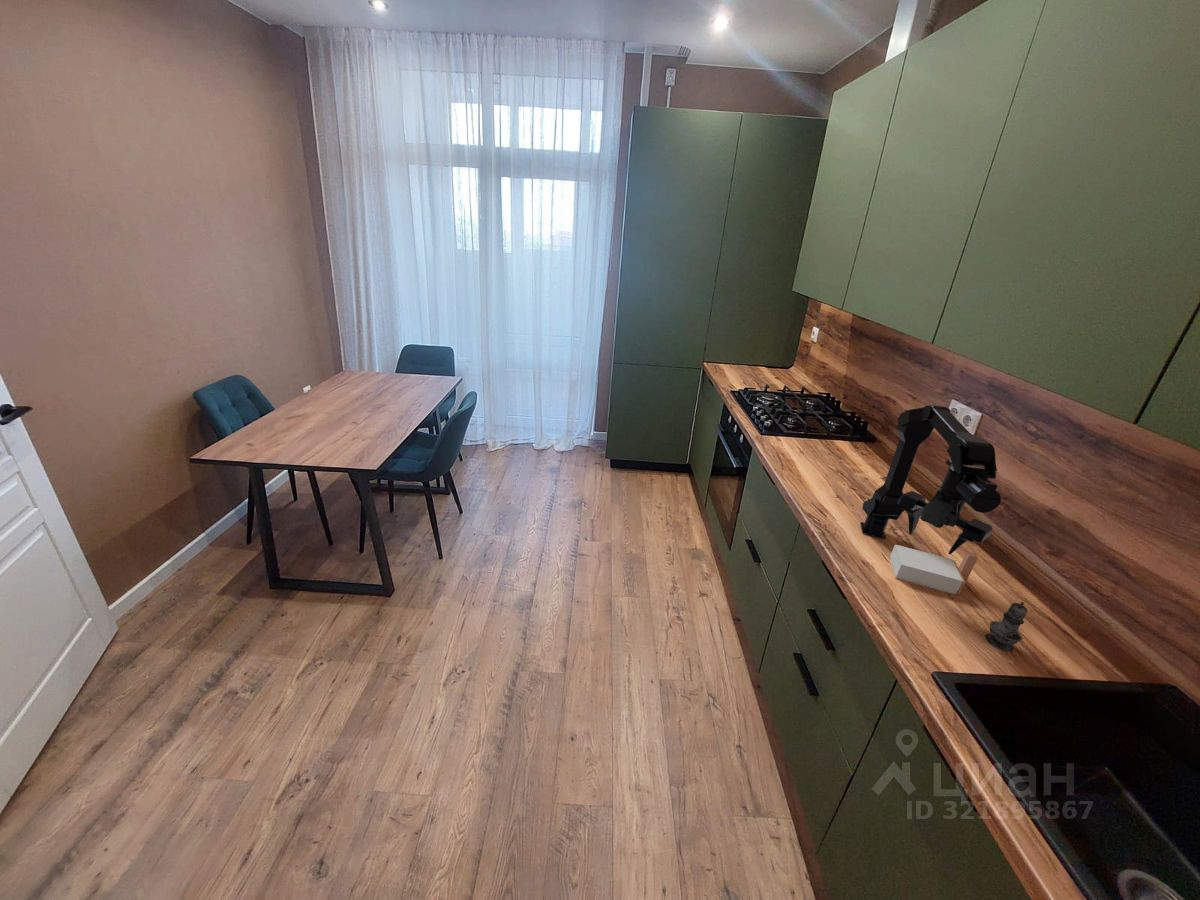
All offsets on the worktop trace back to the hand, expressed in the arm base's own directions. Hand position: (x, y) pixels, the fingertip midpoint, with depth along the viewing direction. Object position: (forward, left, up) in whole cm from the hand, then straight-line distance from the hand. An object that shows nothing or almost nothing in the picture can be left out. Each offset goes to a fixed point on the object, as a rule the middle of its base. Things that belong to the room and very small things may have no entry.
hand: (929, 543), depth 119 cm
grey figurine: (+13, +16, -14) cm, 25 cm away
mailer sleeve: (-7, +4, -13) cm, 15 cm away
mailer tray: (-7, +5, -13) cm, 16 cm away
